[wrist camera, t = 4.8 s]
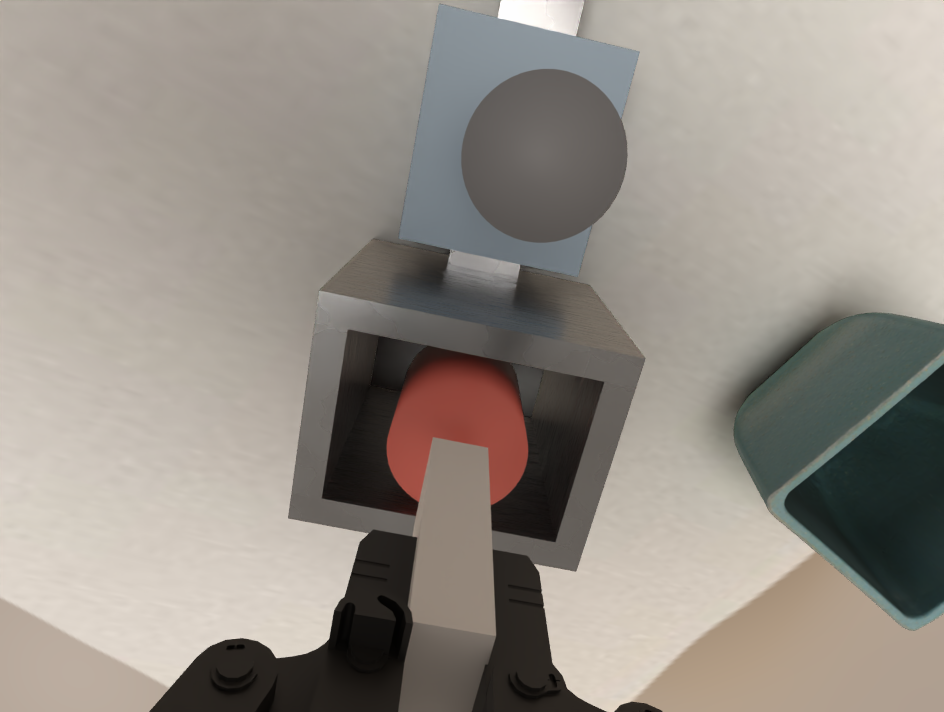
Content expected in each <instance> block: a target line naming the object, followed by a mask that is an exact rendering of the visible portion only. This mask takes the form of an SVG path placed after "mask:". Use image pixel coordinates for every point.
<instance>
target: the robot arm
mask: <svg viewBox="0 0 944 712" xmlns="http://www.w3.org/2000/svg"><path fill="white" fill-rule="evenodd" d="M541 591H542V589H541V582H540V575H539V572H538V570H537V569H536V567H535V566H534V564H533V563H532V561H531V560H530V558H529V557H528V556H526V555H521V554H515V553H510V552H504V551H499V550H493V549H492V527H491V503H490V480H489V456H488V448H487V447H482V446H477V445H471V444H466V443H461V442H456V441H451V440H445V439H440V438H435V437H433V439H432V444H431V449H430V453H429V458H428V463H427V467H426V472H425V476H424V481H423V486H422V490H421V495H420V500H419V504H418V509H417V514H416V518H415V523H414V530H413V536H407V535H402V534H396V533H391V532H385V531H380V530H374V529H373V530H372V531H371V532H370V533H369V534H368V535H367V536H366V537H365V538H364V539H363V540H362V541H361V542H360V544H359V547H358V551H357V554H356V558H355V562H354V565H353V569H352V572H351V576H350V580H349V583H348V587H347V590H346V594H345V597H344V598H343V599H341V600H340V602H339V603H338V605H337V607H336V608H335V610H334V615H333V621H332V627H331V632H330V638H329V640H328V641H327V642H326V643H325V644H324V645H322V646H321V647H319V648H318V649H316V650H314V651H312V652H309V653H307V654H303V655H298V656H293V657H285V658H276V657H275V656H274V654H273V653H272V651H271V650H270V649H269V648H268V647H266V646H265V645H263V644H261V643H260V642H258V641H254V640H249V639H244V638H240V639H231V640H225V641H222V642H220V643H217V644H215V645H212V646H210V647H209V648H208V649H206V650H205V651H204V652H203V653H201V654H200V655H199V656H198V657H197V658H196V659H195V660H194V661H193V662H192V663H191V665H190V666H189V667H188V668H187V669H186V670H185V671H184V673H183V674H182V675H181V676H180V677H179V678H178V679H177V681H176V682H175V683H174V684H173V685H172V686H171V687H170V689H169V690H168V691H167V692H166V693H165V694H164V695H163V697H162V698H161V699H160V700H159V701H158V702H157V703H156V705H155V706H154V707H153V708H152V709H151V710H150V712H606V711H604V710H602V709H599V708H597V707H595V706H593V705H591V704H589V703H587V702H585V701H583V700H582V699H580V698H578V697H577V696H575V695H574V694H573V693H572V692H571V691H569V690H568V689H567V687H566V684H565V682H564V679H563V676H562V675H561V674H560V672H559V671H558V670H557V669H556V668H555V666H554V665H553V663H552V658H551V651H550V644H549V637H548V631H547V624H546V617H545V610H544V608H543V606H544V603H543V596H542V594H541ZM615 712H662V711H661V710H659V709H657V708H655V707H652V706H650V705H648V704H645V703H637V702H630V703H626V704H622V705H620V706H619V707H618V708H617V709H616V711H615Z"/></svg>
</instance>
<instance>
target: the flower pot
mask: <svg viewBox="0 0 944 712" xmlns="http://www.w3.org/2000/svg"><path fill="white" fill-rule="evenodd" d="M734 440H735V444H736V447H737V450H738V452H739V455H740V457H741V459H742V461H743V463H744V464H745V466H746V468H747V470H748V472H749V474H750V476H751V478H752V480H753V482H754V483H755V485H756V487H757V489H758V491H759V493H760V495H761V497H762V498H763V500H764V502H765V504H766V506H767V508H768V510H769V511H770V512H771V514H772V515H773V516H774V517H775V518H776V519H778V520H779V521H780V522H781V523H783V524H784V525H785V526H786V527H787V528H788V529H790V530H791V531H792V532H793V533H795V534H796V535H797V536H798V537H799V538H800V539H802V540H803V541H804V542H805V543H806V544H808V545H809V546H810V547H811V548H812V549H813V550H815V551H816V552H817V553H818V554H819V555H821V556H822V557H823V558H824V559H825V560H826V561H828V562H829V563H830V564H831V565H832V566H834V567H835V568H836V569H837V570H838V571H839V572H840V573H841V574H843V575H844V576H845V577H846V578H847V579H848V580H849V581H851V582H852V583H853V584H854V585H855V586H856V587H858V588H859V589H860V590H861V591H862V592H863V593H864V594H865V595H867V596H868V597H869V598H870V599H871V600H872V601H873V602H875V603H876V604H877V605H878V606H879V607H880V608H881V609H882V610H884V611H885V612H886V613H887V614H888V615H889V616H891V618H893V619H894V620H895V621H896V622H897V623H898V624H900V625H901V626H902V627H903V628H905V629H908V630H913V631H915V630H917V629H919V628H921V627H922V626H925V625H926V624H928V623H930V622H932V621H934V620H935V619H937V618H939V616H941V615H943V614H944V324H939V323H935V322H930V321H926V320H921V319H916V318H912V317H907V316H902V315H896V314H889V313H865V314H858V315H854V316H850V317H847V318H844V319H842V320H840V321H838V322H836V323H834V324H832V325H831V326H829V327H827V328H826V329H824V330H822V331H821V332H819V333H818V334H817V335H815V336H814V337H813V338H812V339H811V340H810V341H809V342H808V343H807V344H806V345H804V346H803V347H802V348H801V349H800V350H799V351H798V352H797V353H796V354H795V355H794V356H792V357H791V358H790V359H789V360H788V361H787V362H786V363H785V364H784V365H783V366H782V367H780V368H779V369H778V370H777V371H776V372H775V373H774V374H773V375H771V376H770V377H769V378H768V379H767V380H766V381H765V382H764V383H763V384H761V385H760V386H759V387H758V388H757V389H756V390H755V391H754V392H752V393H751V394H750V395H749V396H748V397H747V399H746V400H745V402H744V403H743V404H742V406H741V408H740V409H739V411H738V413H737V416H736V419H735V423H734Z"/></svg>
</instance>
